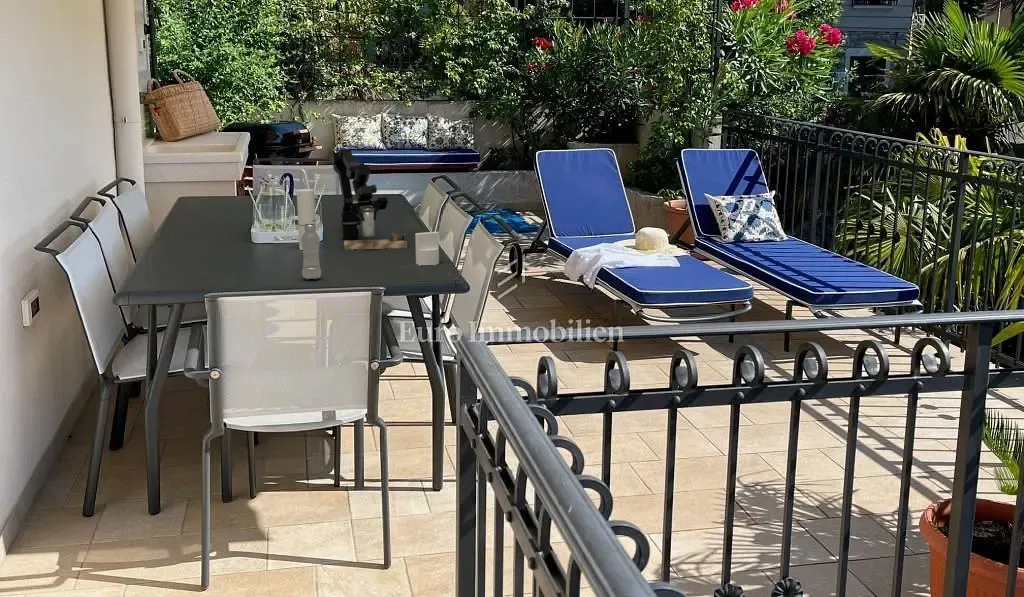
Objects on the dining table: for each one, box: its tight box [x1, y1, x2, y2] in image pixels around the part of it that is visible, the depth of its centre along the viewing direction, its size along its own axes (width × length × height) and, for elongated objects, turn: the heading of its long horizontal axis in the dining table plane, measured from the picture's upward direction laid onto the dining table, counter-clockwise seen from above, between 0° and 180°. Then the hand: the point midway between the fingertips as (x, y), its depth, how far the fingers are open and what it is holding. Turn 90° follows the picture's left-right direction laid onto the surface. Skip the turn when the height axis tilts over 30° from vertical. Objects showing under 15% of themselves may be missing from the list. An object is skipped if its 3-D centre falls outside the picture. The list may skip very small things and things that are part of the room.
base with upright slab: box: [414, 231, 440, 266], centre depth 392 cm, size 9×9×12 cm
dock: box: [343, 232, 408, 251], centre depth 428 cm, size 26×8×6 cm, turn 101°
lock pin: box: [388, 233, 407, 241], centre depth 429 cm, size 7×2×2 cm, turn 101°
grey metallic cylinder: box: [360, 206, 376, 238], centre depth 418 cm, size 5×5×12 cm
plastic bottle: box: [301, 224, 322, 280], centre depth 363 cm, size 6×7×20 cm
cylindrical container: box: [296, 188, 317, 251], centre depth 419 cm, size 7×7×25 cm
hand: (369, 220), depth 417 cm, fingers closed on grey metallic cylinder, 5 cm apart
